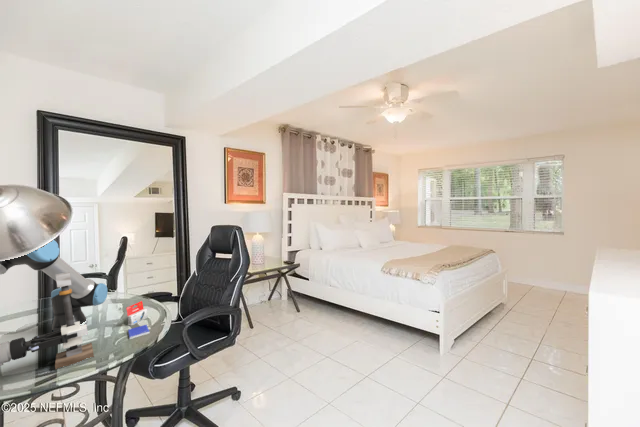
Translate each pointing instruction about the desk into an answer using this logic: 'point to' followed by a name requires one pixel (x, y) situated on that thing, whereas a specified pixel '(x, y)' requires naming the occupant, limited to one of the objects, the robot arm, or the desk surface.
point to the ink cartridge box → (136, 313)
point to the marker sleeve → (67, 330)
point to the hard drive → (138, 331)
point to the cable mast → (74, 352)
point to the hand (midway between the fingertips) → (87, 328)
